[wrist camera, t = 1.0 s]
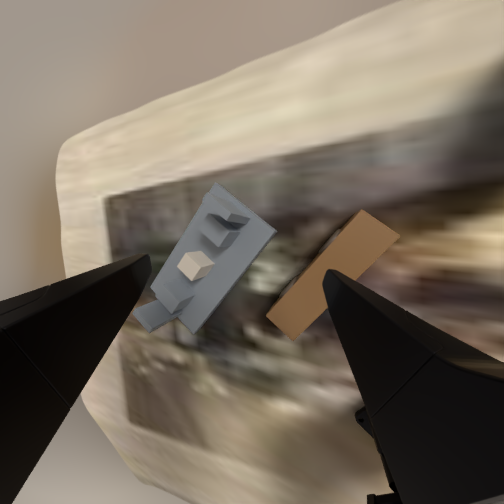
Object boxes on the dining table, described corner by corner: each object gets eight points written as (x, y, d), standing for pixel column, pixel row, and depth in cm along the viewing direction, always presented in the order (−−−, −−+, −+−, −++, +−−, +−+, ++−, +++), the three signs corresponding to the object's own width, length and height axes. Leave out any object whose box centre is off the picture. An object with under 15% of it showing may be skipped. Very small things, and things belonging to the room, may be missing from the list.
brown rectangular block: (352, 212, 18) (359, 207, 15) (386, 235, 17) (400, 235, 14) (270, 303, 21) (263, 314, 18) (296, 326, 20) (292, 341, 18)
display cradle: (277, 231, 20) (262, 229, 14) (199, 330, 25) (164, 358, 19) (220, 185, 22) (187, 167, 16) (157, 285, 26) (114, 298, 21)
